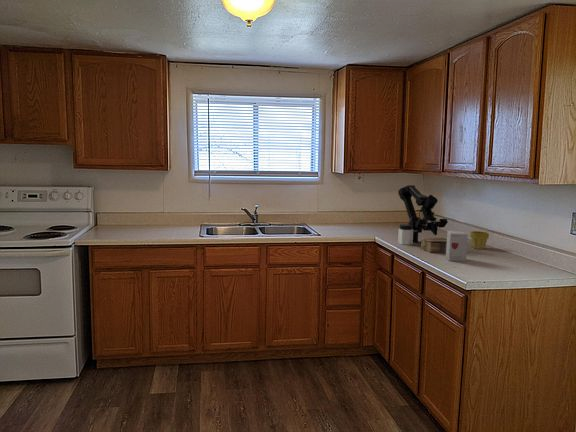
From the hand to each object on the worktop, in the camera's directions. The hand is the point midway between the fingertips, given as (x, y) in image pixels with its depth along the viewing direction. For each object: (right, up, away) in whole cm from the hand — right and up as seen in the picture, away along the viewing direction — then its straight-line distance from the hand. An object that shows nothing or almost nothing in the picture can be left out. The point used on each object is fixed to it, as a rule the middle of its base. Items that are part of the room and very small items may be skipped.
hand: (435, 234), depth 286 cm
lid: (0, -3, -1) cm, 3 cm away
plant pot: (+29, -9, +9) cm, 31 cm away
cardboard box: (0, -9, 0) cm, 9 cm away
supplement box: (+3, -13, -24) cm, 28 cm away
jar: (-13, -7, +21) cm, 25 cm away
